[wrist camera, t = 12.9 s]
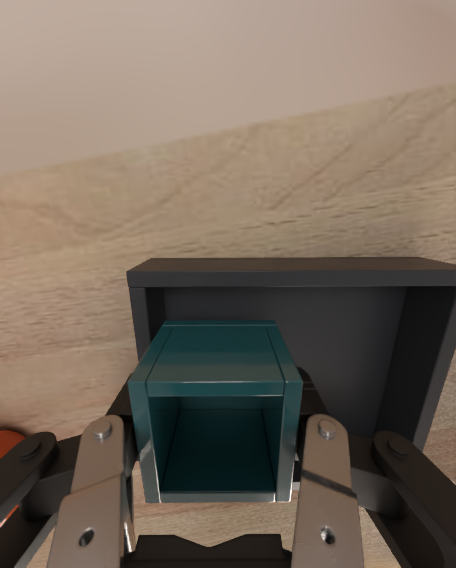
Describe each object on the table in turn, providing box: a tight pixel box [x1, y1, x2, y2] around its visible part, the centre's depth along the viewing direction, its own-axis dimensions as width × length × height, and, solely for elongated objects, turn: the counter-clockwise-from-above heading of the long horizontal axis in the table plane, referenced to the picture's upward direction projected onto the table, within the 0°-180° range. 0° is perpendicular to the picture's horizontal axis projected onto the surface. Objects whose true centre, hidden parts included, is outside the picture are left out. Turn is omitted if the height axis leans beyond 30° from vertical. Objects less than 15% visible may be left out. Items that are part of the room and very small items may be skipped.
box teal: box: [127, 320, 303, 503], centre depth 10 cm, size 6×6×4 cm
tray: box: [126, 257, 456, 490], centre depth 14 cm, size 15×17×4 cm
